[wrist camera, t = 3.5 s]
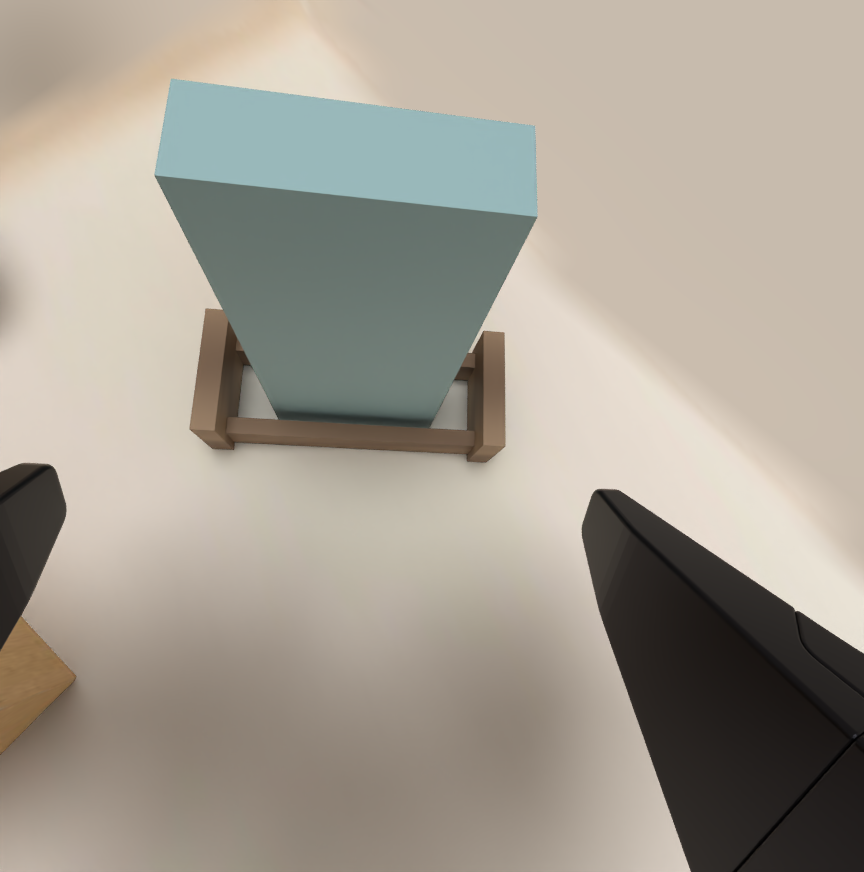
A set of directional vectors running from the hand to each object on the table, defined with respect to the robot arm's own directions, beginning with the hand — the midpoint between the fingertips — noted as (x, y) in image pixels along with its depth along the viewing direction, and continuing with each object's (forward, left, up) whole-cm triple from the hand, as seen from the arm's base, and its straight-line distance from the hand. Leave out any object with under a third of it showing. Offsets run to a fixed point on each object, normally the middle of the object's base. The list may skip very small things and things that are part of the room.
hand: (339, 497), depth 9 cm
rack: (+2, +5, -12) cm, 13 cm away
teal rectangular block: (+2, +5, -12) cm, 13 cm away
